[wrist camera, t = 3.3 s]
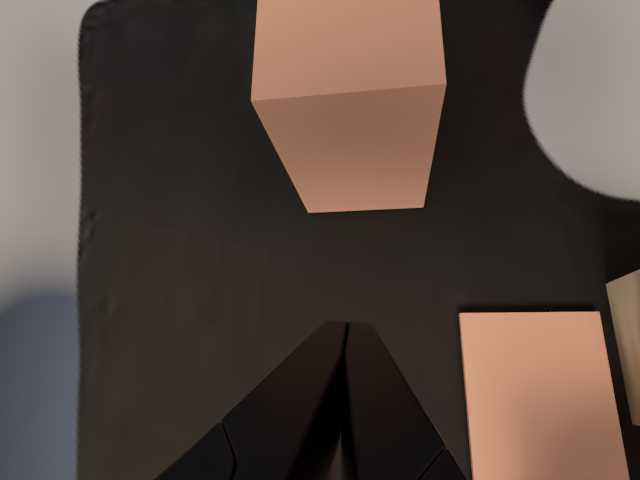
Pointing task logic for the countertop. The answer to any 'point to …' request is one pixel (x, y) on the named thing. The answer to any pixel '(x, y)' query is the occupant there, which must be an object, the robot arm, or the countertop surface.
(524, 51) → the countertop surface
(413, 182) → the terracotta block
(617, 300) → the birch block
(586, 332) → the colour card
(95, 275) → the countertop surface
